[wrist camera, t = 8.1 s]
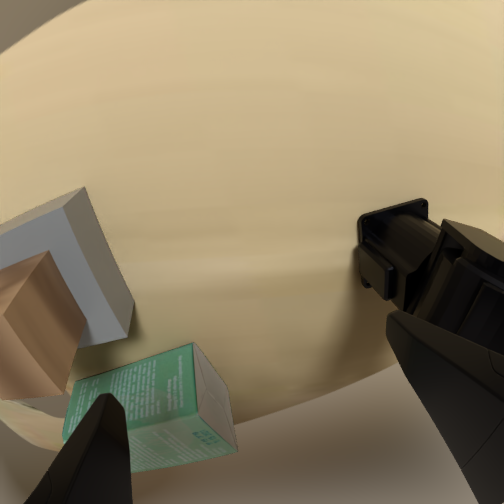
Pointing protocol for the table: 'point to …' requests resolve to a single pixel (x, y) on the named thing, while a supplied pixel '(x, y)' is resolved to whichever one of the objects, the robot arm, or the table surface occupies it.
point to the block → (36, 329)
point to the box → (164, 408)
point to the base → (74, 261)
